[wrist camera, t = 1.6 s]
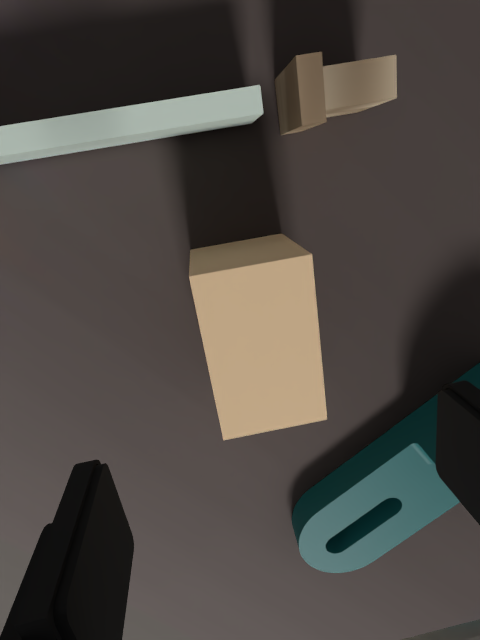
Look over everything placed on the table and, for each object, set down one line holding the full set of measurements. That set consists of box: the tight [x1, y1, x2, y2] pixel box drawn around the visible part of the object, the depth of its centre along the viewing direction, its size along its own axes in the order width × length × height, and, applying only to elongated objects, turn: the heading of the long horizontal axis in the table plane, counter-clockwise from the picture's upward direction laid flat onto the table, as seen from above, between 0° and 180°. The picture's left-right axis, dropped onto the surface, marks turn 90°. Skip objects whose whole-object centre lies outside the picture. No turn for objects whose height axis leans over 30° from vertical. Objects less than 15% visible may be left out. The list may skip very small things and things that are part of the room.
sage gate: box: [0, 85, 263, 165], centre depth 17 cm, size 15×2×4 cm, turn 99°
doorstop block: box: [189, 233, 327, 440], centre depth 20 cm, size 5×8×6 cm, turn 9°
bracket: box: [292, 363, 480, 573], centre depth 25 cm, size 18×7×8 cm, turn 131°
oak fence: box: [275, 52, 397, 135], centre depth 17 cm, size 25×2×4 cm, turn 99°
